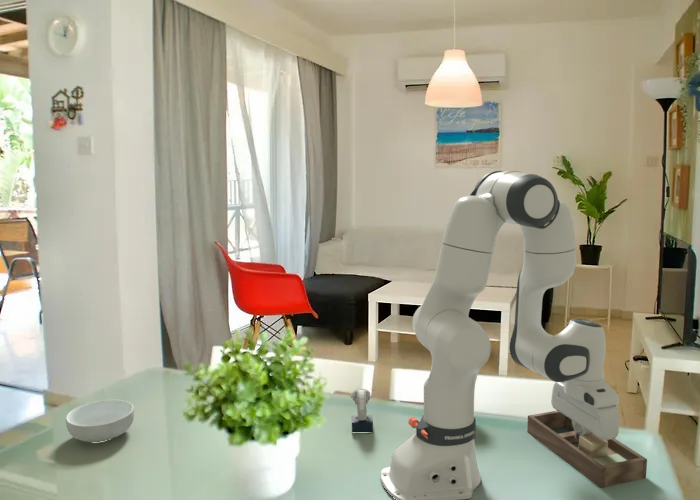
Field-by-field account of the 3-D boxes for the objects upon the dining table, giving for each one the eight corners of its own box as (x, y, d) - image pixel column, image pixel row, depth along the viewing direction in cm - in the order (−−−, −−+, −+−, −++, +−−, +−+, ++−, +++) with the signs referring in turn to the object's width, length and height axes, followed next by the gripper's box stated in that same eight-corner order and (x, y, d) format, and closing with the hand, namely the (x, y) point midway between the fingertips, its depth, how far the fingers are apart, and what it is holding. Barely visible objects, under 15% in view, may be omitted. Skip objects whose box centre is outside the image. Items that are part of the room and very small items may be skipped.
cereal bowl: (132, 447, 156) (130, 421, 155) (62, 456, 153) (59, 429, 151) (138, 419, 173) (136, 395, 172) (75, 426, 169) (72, 402, 168)
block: (591, 458, 141) (591, 444, 140) (578, 449, 145) (579, 435, 145) (607, 455, 142) (608, 441, 142) (594, 446, 147) (594, 432, 146)
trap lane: (600, 487, 133) (601, 468, 132) (527, 431, 159) (527, 415, 158) (645, 477, 136) (647, 459, 135) (566, 424, 163) (567, 408, 162)
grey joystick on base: (371, 422, 167) (371, 384, 165) (373, 436, 159) (372, 396, 157) (351, 423, 167) (350, 384, 165) (351, 437, 159) (350, 397, 157)
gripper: (545, 372, 154) (544, 424, 156) (602, 404, 135) (599, 462, 137) (567, 369, 156) (565, 420, 158) (625, 400, 137) (622, 457, 139)
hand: (581, 440), depth 148 cm, fingers closed
